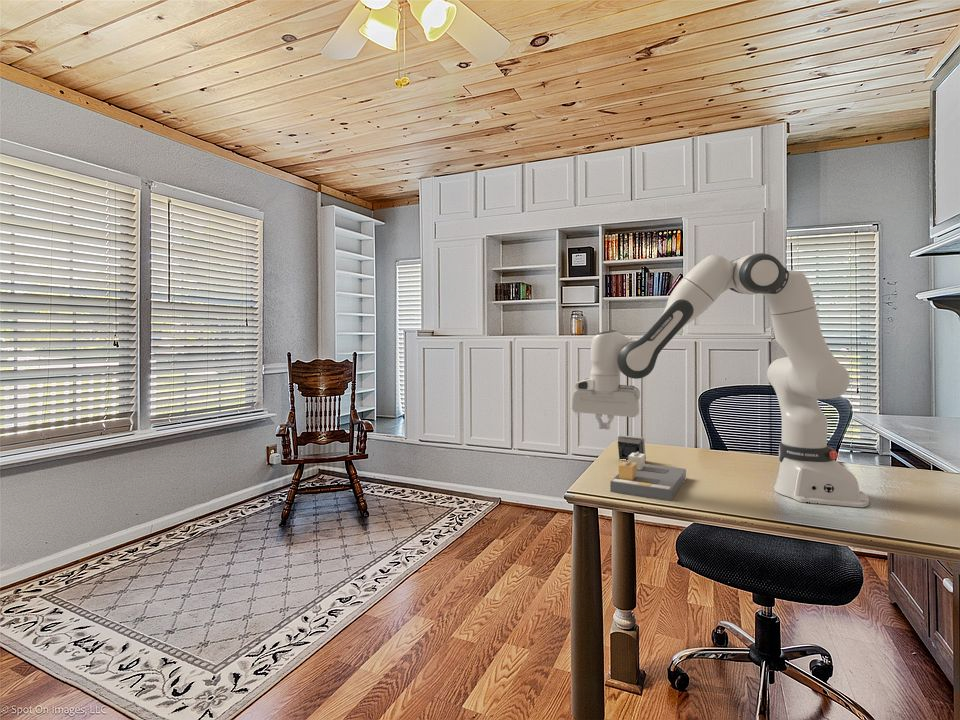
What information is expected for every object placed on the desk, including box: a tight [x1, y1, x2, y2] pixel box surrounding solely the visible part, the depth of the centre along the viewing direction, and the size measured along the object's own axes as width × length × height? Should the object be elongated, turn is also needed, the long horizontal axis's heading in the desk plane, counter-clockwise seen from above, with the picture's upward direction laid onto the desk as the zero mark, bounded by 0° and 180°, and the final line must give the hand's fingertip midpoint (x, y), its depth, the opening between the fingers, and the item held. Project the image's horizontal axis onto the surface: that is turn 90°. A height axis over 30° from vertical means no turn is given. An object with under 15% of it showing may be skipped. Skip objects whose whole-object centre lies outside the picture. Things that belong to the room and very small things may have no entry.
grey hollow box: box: [617, 434, 647, 461], centre depth 187 cm, size 9×5×9 cm, turn 57°
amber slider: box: [618, 461, 637, 480], centre depth 158 cm, size 4×5×5 cm
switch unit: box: [609, 463, 687, 502], centre depth 161 cm, size 17×24×3 cm
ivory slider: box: [627, 452, 646, 470], centre depth 168 cm, size 4×5×5 cm
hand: (604, 428), depth 161 cm, fingers closed
